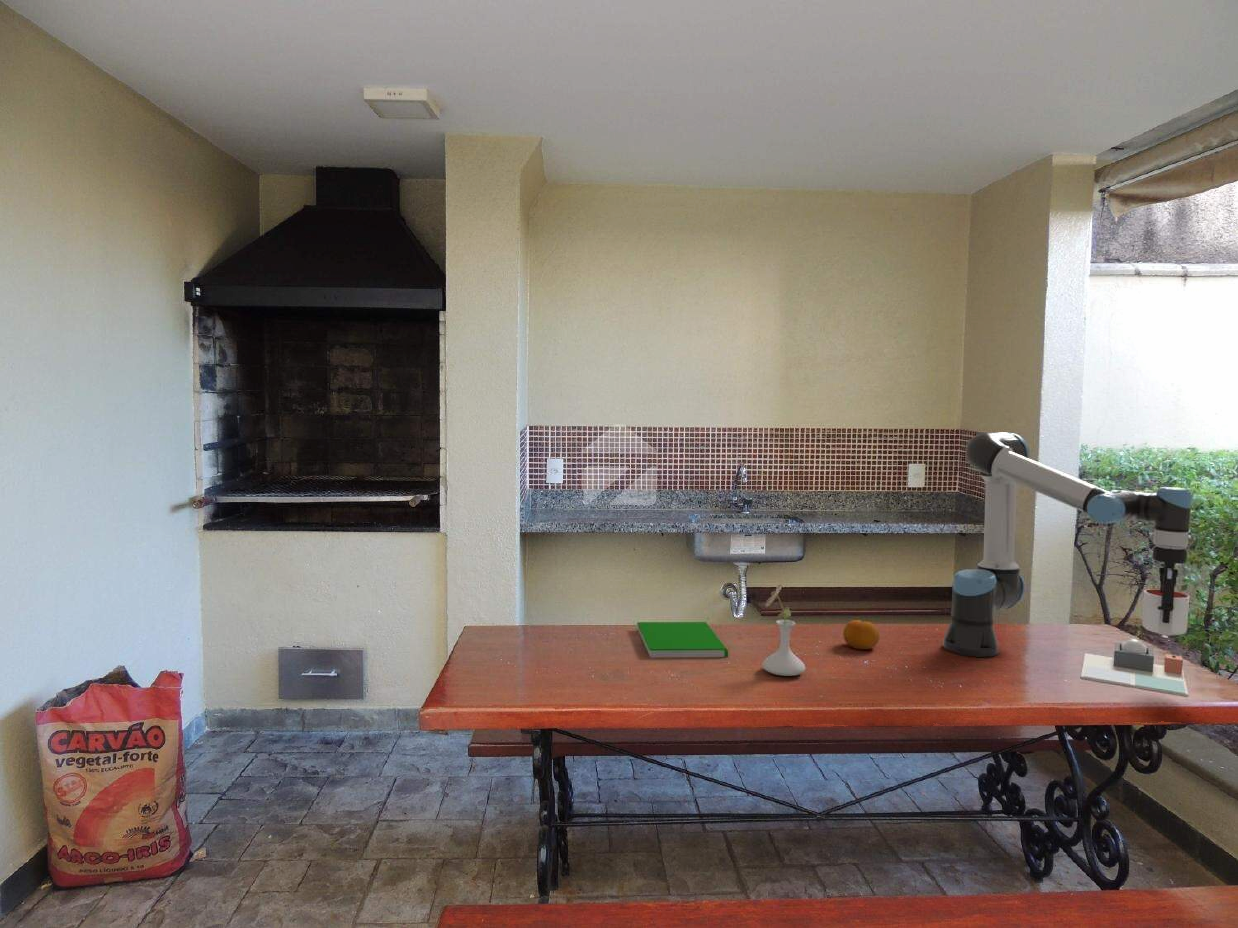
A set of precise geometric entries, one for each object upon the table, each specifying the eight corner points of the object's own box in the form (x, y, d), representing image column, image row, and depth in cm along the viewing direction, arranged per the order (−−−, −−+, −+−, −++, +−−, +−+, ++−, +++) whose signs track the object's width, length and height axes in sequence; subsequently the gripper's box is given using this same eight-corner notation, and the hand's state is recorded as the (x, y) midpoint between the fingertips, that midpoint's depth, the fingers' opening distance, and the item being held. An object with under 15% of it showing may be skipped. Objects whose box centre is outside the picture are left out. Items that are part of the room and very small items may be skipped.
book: (649, 659, 236) (649, 649, 236) (636, 631, 264) (637, 622, 264) (728, 658, 239) (728, 648, 238) (707, 631, 266) (707, 621, 266)
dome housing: (1113, 665, 238) (1114, 650, 237) (1113, 657, 246) (1115, 642, 245) (1152, 672, 233) (1154, 656, 233) (1151, 663, 241) (1153, 648, 241)
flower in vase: (778, 663, 234) (781, 574, 232) (813, 673, 226) (817, 581, 224) (749, 673, 225) (753, 580, 223) (785, 684, 217) (789, 588, 215)
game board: (1081, 677, 228) (1082, 660, 228) (1085, 654, 249) (1086, 638, 249) (1187, 696, 216) (1189, 677, 215) (1182, 670, 237) (1183, 653, 237)
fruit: (883, 646, 253) (884, 620, 253) (873, 654, 244) (874, 627, 244) (848, 640, 259) (850, 614, 258) (837, 648, 250) (839, 621, 249)
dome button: (1120, 662, 238) (1122, 640, 238) (1120, 657, 243) (1122, 635, 243) (1145, 666, 235) (1147, 643, 235) (1145, 661, 240) (1147, 638, 240)
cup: (1193, 637, 216) (1196, 599, 216) (1150, 634, 218) (1153, 596, 218) (1176, 627, 226) (1179, 590, 225) (1135, 624, 228) (1138, 588, 227)
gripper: (1190, 554, 209) (1183, 642, 211) (1185, 542, 228) (1178, 622, 230) (1154, 551, 213) (1147, 637, 215) (1152, 539, 232) (1146, 618, 234)
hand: (1163, 630), depth 222 cm, fingers closed on cup, 10 cm apart
